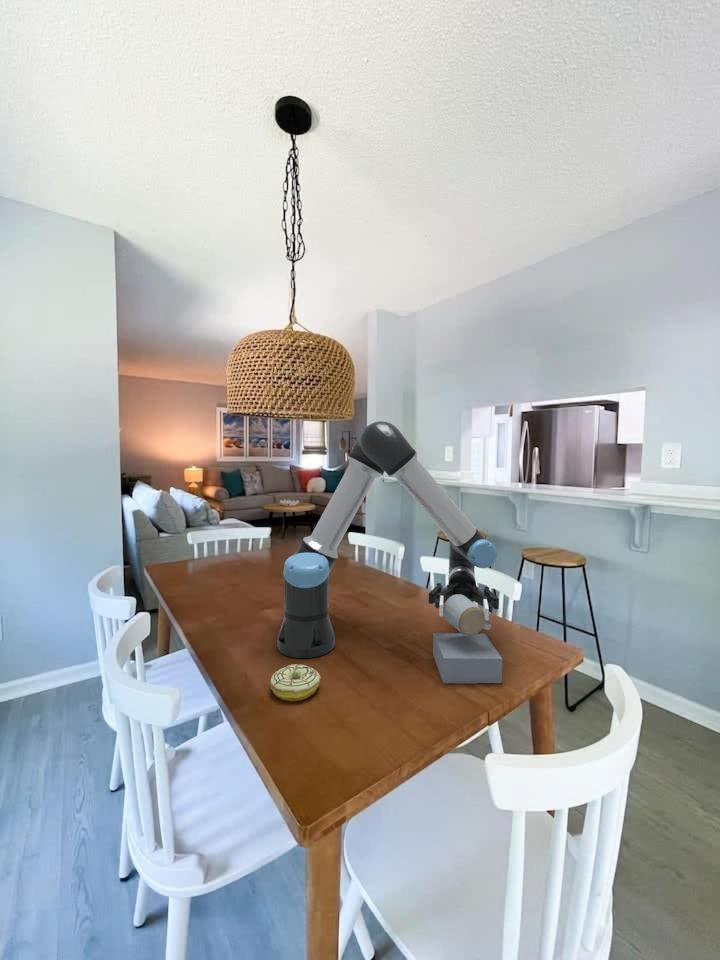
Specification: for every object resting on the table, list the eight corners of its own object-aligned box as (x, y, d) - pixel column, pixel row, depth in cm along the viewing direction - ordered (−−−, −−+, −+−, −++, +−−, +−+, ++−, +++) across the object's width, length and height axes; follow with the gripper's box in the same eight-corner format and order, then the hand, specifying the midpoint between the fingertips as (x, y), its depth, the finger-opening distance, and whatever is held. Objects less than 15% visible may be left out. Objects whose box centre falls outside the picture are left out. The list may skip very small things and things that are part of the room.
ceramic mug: (459, 639, 94) (460, 606, 94) (441, 625, 102) (442, 594, 101) (499, 634, 97) (500, 602, 97) (479, 621, 105) (480, 591, 105)
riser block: (443, 684, 92) (443, 658, 92) (433, 656, 105) (433, 633, 105) (501, 684, 92) (502, 658, 92) (484, 656, 105) (484, 633, 105)
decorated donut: (323, 677, 94) (323, 661, 94) (316, 705, 83) (316, 687, 83) (278, 675, 95) (278, 659, 94) (265, 703, 84) (265, 685, 84)
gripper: (503, 599, 114) (514, 633, 92) (422, 593, 119) (414, 623, 97) (503, 572, 114) (515, 600, 92) (422, 567, 119) (415, 592, 97)
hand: (463, 612), depth 95 cm, fingers closed on ceramic mug, 9 cm apart
